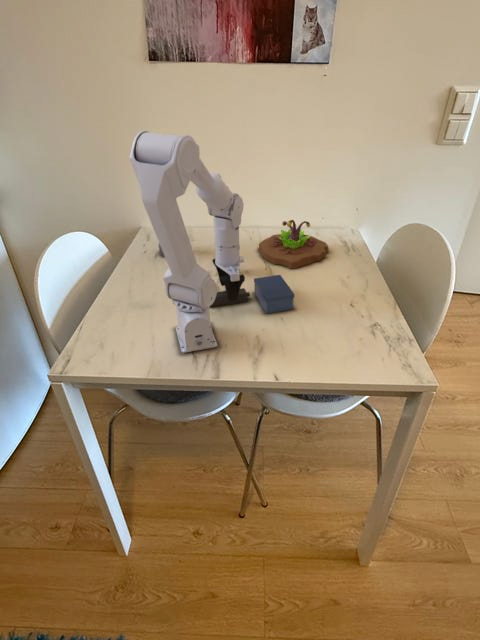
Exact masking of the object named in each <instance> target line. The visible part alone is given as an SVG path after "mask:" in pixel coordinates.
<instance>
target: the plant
mask: <svg viewBox="0 0 480 640" xmlns="http://www.w3.org/2000/svg"><path fill="white" fill-rule="evenodd" d="M281 224H282V226H284V227H286V226H287V228H289V229H288V231H286V230H283V229H280V233H279V234H277V233H276V234H273V235H270V237H267V238H264V239H263V240H261V242H259V244H258V252H259V253H260V254H261V256H262V258H263V259H264V260H266V261H269V262H270V263H272V264H274V265H281V266H284V267H286V268H289V269H291V270H293V269H298V268H300V267H303V266H309V265H310V264H313V263H314V262H320V261H321V260H322V259H325V258H326V254H327V253H328V252H329V246H328V244H327V242H326V241H323V240H320V239H318V238H316V237H315V236H312V235H309V234H305V231H304V230H302V229H301V228H302V226H303V225H304V224H305V225H306V228H309V227H311V223H310V221H307V220H303V221H302V222H301V223H300V224H299V225H298V227H297V225H296V221H295V220H294V219H290V220H288V221H285V220H284V221H282V223H281Z"/></svg>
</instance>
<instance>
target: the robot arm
mask: <svg viewBox="0 0 480 640" xmlns="http://www.w3.org/2000/svg"><path fill="white" fill-rule="evenodd" d="M131 144H132V145H131V149H130V153H129V158H128V159H129V162H130V163H131V164H130V165H131V166H132V169H133V172H134V175H135V176H136V179H137V182H138V184H139V190H140V195H141V201H142V204H143V207H144V209H145V211H146V214H147V217H148V218H149V221H150V224H151V226H152V229H153V231H154V234H155V236H156V238H157V241H158V245H159V244H160V246H161V248H162V251H163V253H164V256H165V257H164V258H165V260H166V263H167V265H168V269H166V271H165V273H164V276H163V277H162V279H163V281H164V285H165V286H164V287H165V288H164V289H165V290H164V291H165V294H166V297H167V299H170V300H172V305H174V306H175V310H176V318H177V326H176V327H175V331H176V335H177V339H178V343H179V348H180V351H181V353H182V354H185V353H191V352H196V351H202V350H206V349H207V350H208V349H212V348H216V347H218V342H217V340H216V337H215V335H214V331H213V327H212V326H213V325H212V322H211V311H210V307H211V306H213V305H212V304H213V302H214V300H215V298H216V294H217V292H218V287H217V283H216V280H215V279H213V278H212V276H211V274H210V272H209V271H207V270H206V269H205V268H204V267H202V266H201V265H200V264H199V263H197V259H196V256H195V253H194V249H193V247H192V243H191V240H190V237H189V235H188V232H187V228H186V225H185V222H184V219H183V216H182V213H181V210H180V207H179V204H178V201H177V198H179V197H182V196H183V195H185V194H186V191H187V188H188V186H189V185H190V182H191V183H192V184H193V185H195V191H196V195H197V196H198V198H200V199H201V201H203V202H204V203H205V205H206V207H207V208H206V209H207V213H208V215H209V216H211V217H213V230H214V232H213V233H214V246H215V247H214V249H215V250H214V251H215V258H213V259H211V261H212V264H213V265H214V267H215V269H216V272H217V275H218V280H219V282H220V285H221V287H224V288H225V291H226V293H227V298H228V300H229V301H235V300H237V298H238V294H239V290H240V289H241V287H242V285H243V284H244V282H245V281H246V275H244V274H240V267H241V263H245V258H244V256H243V255H240V250H239V245H240V226H241V224H242V215H243V211H244V205H245V203H244V201H243V198H242V196H240V195H239V194H238V193H237V192H236V193H235V192H233V191H232V190H231V189H230V187H229V186H228V185H227V183H225V182H224V181H223V179H222V175H221V174H220V173H217V172H210V171H209V169H208V168H207V166H206V165H205V164H204V162H203V161H202V159H201V156H200V146H199V145H198V144H197V142H196V140H195V138H193V137H192V136H191V135H189V134H183V135H178V134H170V133H169V134H168V133H160V132H157V133H156V132H150V131H148V130H140V131H139V132H138V133H137V134H136V135H135V137H134V138H133V141H132V143H131Z"/></svg>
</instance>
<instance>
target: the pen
mask: <svg viewBox="0 0 480 640" xmlns="http://www.w3.org/2000/svg"><path fill="white" fill-rule="evenodd" d="M248 297H251V293H250V291H247V290H246V288H245V287H242V288H241V287H240V290H239V294H238V298H237V300H235V301H229V300H228V298H227V293H226V290H222V291H217V294H216V298H215V300H214V302H213V304H212V305H211V306H212V307H214V308H215V307H222V306H228V305H232V304H233V305H234V304H240V303H246V302H248Z"/></svg>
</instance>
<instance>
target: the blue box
mask: <svg viewBox="0 0 480 640" xmlns="http://www.w3.org/2000/svg"><path fill="white" fill-rule="evenodd" d="M253 283H254V289H253V290H254V295H255V297H256V298H257V301H258V302H259V304H260V306H261V307H262V309H263V310H264V313H265V314H273V313H278V312H284V311H289V310H294V309H293V307H294V298H295V295H296V294H295V292H294V291H293V290H292V288H291V287H290V286H289V284H288V283H287V282H286V280H285V279H284V278H283V276H282V275H281V274H275V275H268V276H262V277H254V278H253Z"/></svg>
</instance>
